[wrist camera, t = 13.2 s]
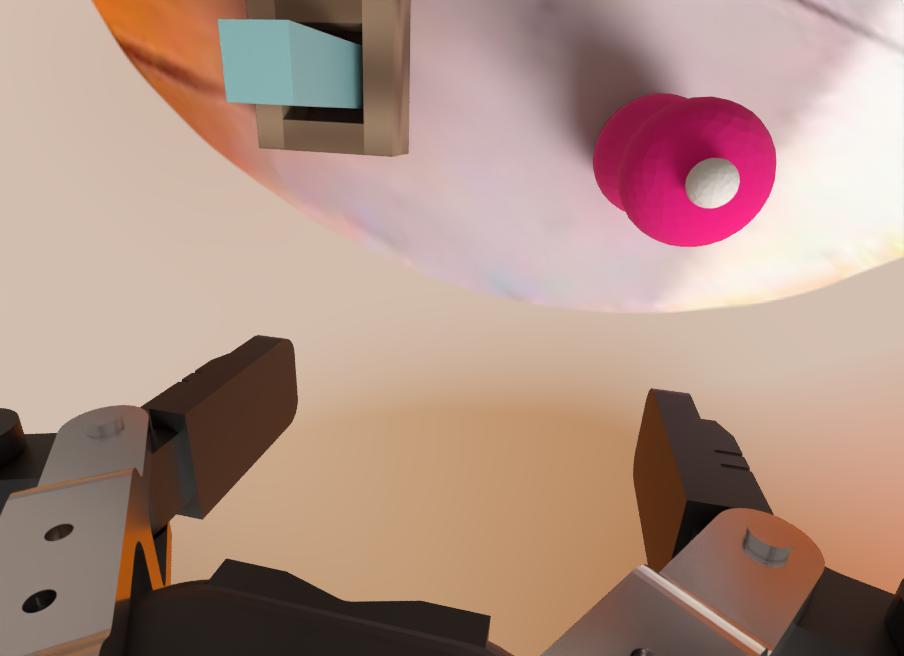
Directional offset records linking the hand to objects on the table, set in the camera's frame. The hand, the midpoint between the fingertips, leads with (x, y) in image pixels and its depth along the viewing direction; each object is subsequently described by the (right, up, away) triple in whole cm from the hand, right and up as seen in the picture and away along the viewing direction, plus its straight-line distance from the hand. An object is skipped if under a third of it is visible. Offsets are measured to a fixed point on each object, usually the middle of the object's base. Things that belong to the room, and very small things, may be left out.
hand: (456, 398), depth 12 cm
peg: (-8, +20, +27) cm, 35 cm away
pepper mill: (+13, +14, +25) cm, 31 cm away
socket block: (-8, +20, +27) cm, 35 cm away
